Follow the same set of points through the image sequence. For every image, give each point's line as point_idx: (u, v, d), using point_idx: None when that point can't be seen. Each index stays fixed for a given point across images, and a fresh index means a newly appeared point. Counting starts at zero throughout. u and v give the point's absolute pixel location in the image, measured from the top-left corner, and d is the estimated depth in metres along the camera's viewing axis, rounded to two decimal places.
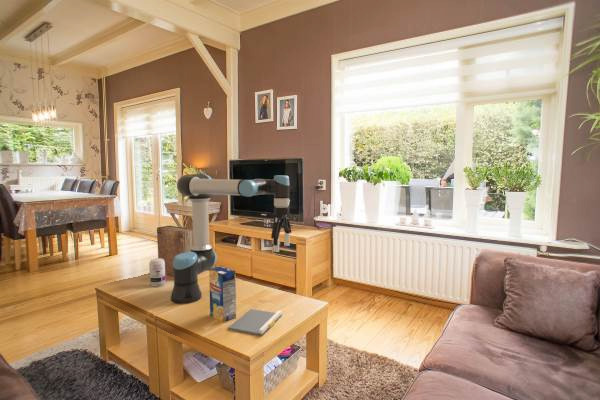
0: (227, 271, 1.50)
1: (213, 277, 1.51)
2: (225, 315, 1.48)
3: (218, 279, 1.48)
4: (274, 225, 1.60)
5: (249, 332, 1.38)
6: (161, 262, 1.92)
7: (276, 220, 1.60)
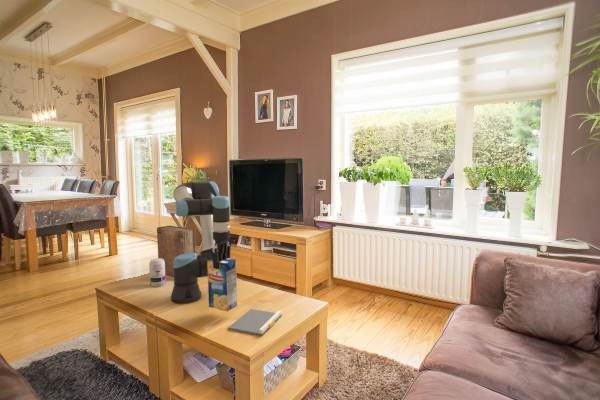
0: (228, 260, 1.50)
1: None
2: (229, 304, 1.49)
3: (220, 269, 1.48)
4: (213, 256, 1.46)
5: (249, 332, 1.38)
6: (161, 262, 1.92)
7: (214, 251, 1.45)
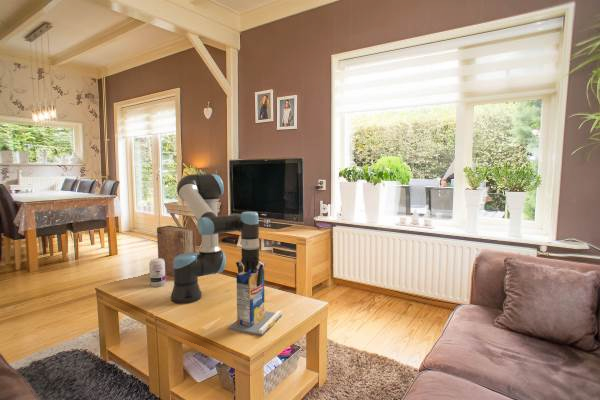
0: (246, 274, 1.42)
1: None
2: (239, 318, 1.44)
3: None
4: None
5: (249, 332, 1.38)
6: (161, 262, 1.92)
7: None
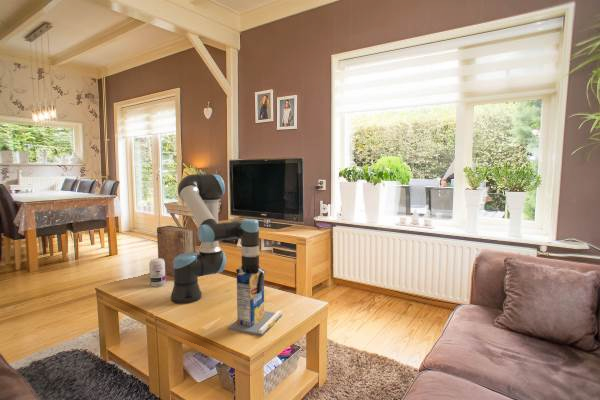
0: (246, 274, 1.42)
1: None
2: (239, 318, 1.44)
3: None
4: None
5: (249, 332, 1.38)
6: (161, 262, 1.92)
7: None
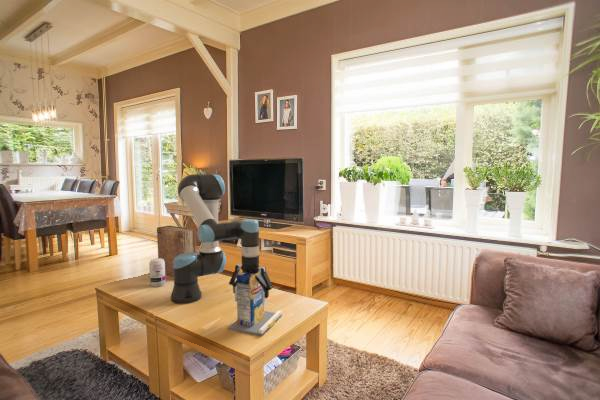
0: (246, 274, 1.42)
1: None
2: (239, 318, 1.44)
3: None
4: None
5: (249, 332, 1.38)
6: (161, 262, 1.92)
7: None
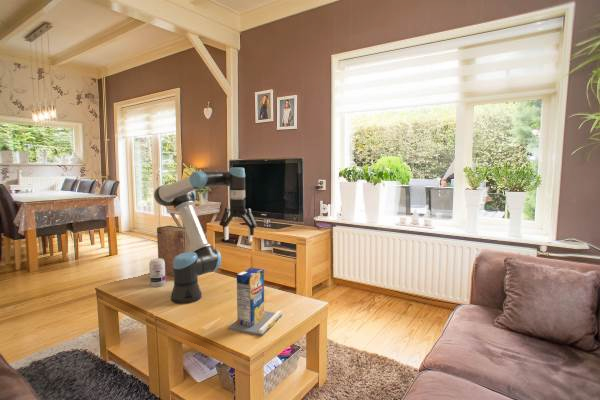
0: (246, 274, 1.42)
1: None
2: (239, 318, 1.44)
3: None
4: None
5: (249, 332, 1.38)
6: (161, 262, 1.92)
7: None
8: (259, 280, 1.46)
